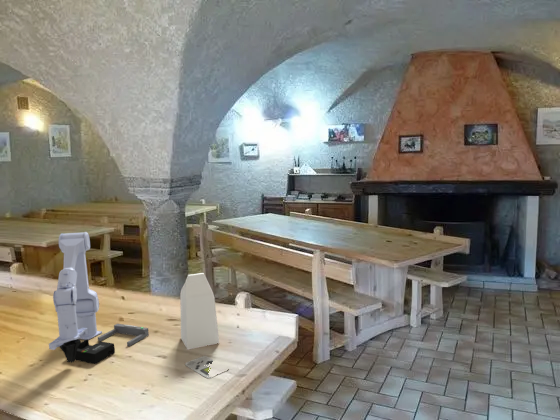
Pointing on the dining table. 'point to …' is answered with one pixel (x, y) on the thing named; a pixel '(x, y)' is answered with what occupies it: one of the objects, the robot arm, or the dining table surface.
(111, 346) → the battery charger
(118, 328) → the grey u-shaped bracket
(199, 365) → the handheld gaming device
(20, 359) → the dining table surface
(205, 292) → the milk
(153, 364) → the dining table surface
